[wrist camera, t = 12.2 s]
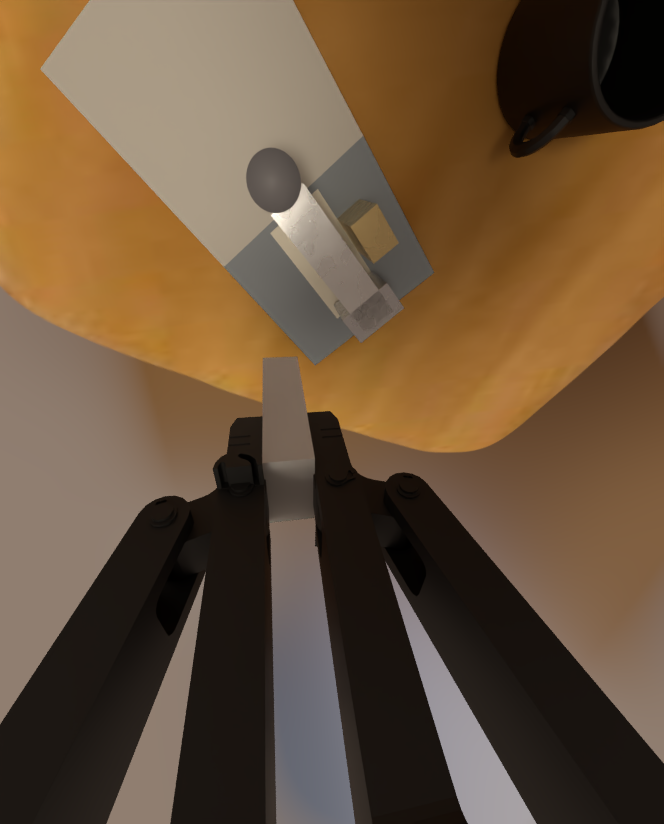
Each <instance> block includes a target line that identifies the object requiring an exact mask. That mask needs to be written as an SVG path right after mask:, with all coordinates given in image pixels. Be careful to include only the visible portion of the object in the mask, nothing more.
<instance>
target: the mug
mask: <svg viewBox="0 0 664 824" xmlns="http://www.w3.org/2000/svg"><path fill="white" fill-rule="evenodd" d="M497 86H498V97H499V102H500V106H501V109H502V112H503V115H504V117H505V119H506V120H507V122H508V124H509V125H510V126H511V127H512V128H513V130H514V131H515V133H514V135H513V137H512V139H511V141H510V144H509V149H510V152H511V155H512V156H513V157H516V158H519V157H524V156H527V155H530V154H533V153H534V152H536V151H538V150H540V149H541V148H543V147H544V146H545V145H547V144H548V143H549V142H550V141H552V140H553V139H557V138H566V137H574V136H583V135H592V134H601V133H609V132H618V131H627V130H636V129H642V128H646V127H649V126H653V125H655V124H657V123H659V122H661V121H663V120H664V0H521V2H520V3H519V5H518V7H517V9H516V11H515V13H514V15H513V17H512V19H511V21H510V24H509V26H508V29H507V32H506V34H505V37H504V41H503V44H502V48H501V52H500V58H499V64H498V76H497ZM524 138H527V139H531V140H529V141H526V142H523V140H524Z"/></svg>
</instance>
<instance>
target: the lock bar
mask: <svg viewBox="0 0 664 824" xmlns="http://www.w3.org/2000/svg"><path fill="white" fill-rule="evenodd" d="M270 214H271V216H272V217H273V219H274V220H275V221H276V222H277V224H278V225H279V226H280V227H281V229H282V230H283V231H284V232H285V234H286V235H287V236H288V237H289V239H290V240H291V241H292V242H293V244H294V245H295V246H296V247H297V249H298V250H299V251H300V252H301V253H302V255H303V256H304V257H305V258H306V260H307V261H308V262H309V263H310V265H311V266H312V267H313V268H314V270H315V271H316V272H317V273H318V275H319V276H320V277H321V278H322V280H323V281H324V282H325V283H326V285H327V286H328V287H329V288H330V290H331V291H332V292H333V293H334V295H335V296H336V297H337V298H338V299H339V301H337V302H336V303H335V304H334V307H335V309H336V310H337V312H338V314H339V316H340V317H341V319H342V321H343V322H344V323H345V324H346V326H347V327H348V328H349V329H350V330H351V332H352V333H353V334H354V335H355V336H356V338H357V339H358V340H359V341H360V342H361V343H362V342H363V341H364V340H365V339H367V338H368V337H369V336H370V335H372V334H373V333H374V332H375V331H376V330H378V329H379V328H380V327H381V326H383V325H384V324H385V323H386V322H388V321H389V320H390V319H391V318H393V317H394V316H395V315H396V314H397V313H399V312H400V311H401V310H402V309H404V307H403V306H402V304H401V303H400V301H399V300H398V298H397V297H396V295H395V294H394V292H393V291H392V289H391V288H390V287H389V285H388V284H387V282H385V281H384V280H383V279H382V278H381V277H380V276H378V275H377V274H376V273H375V272H374V271H372V272H371V273H370V274H367V273H366V271H365V270H364V269H363V267H362V266H361V264H360V263H359V261H358V260H357V259H356V257H355V256H354V254H353V253H352V251H351V250H350V249H349V247H348V246H347V244H346V243H345V242H344V240H343V239H342V237H341V236H340V234H339V233H338V232H337V230H336V229H335V227H334V226H333V224H332V223H331V222H330V220H329V219H328V217H327V216H326V215H325V213H324V212H323V210H322V209H321V207H320V206H319V205H318V203H317V202H316V200H315V199H314V197H313V196H312V195H311V193H310V192H309V190H308V189H307V188H306V186H305V185H304V183H303V182H301V190H300V194H299V197H298V199H297V201H296V203H295V204H294V205H293V206H292V207H291V208H290V209H289V210H287V211H285V212H282V213H271V212H270Z"/></svg>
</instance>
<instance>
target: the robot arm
mask: <svg viewBox="0 0 664 824" xmlns="http://www.w3.org/2000/svg"><path fill="white" fill-rule="evenodd" d="M213 472H214V476H215V481H216V485H217V489H216V490H214V491H213V492H211V493H210V494H209V495H206V496H204V497H202V498H199V499H196V500H193V501H190V502H187V501H186V500H185V499H183V498H181V497H178V496H165V497H162V498H159V499H156V500H154V501H152V502H151V503H149V504H148V505H146V506H145V508H143V510H142V511H141V512H140V513H139V514H138V516H137V517H136V519H135V520H134V522H133V523H132V525H131V526H130V528H129V529H128V531H127V532H126V534H125V535H124V537H123V538H122V540H121V541H120V543H119V545H118V546H117V548H116V549H115V551H114V552H113V554H112V555H111V557H110V558H109V560H108V561H107V563H106V564H105V566H104V567H103V569H102V570H101V572H100V573H99V575H98V577H97V578H96V579H95V581H94V583H93V584H92V586H91V587H90V589H89V590H88V592H87V593H86V595H85V596H84V598H83V599H82V601H81V602H80V604H79V605H78V607H77V608H76V610H75V611H74V613H73V615H72V616H71V618H70V619H69V621H68V622H67V624H66V625H65V627H64V628H63V630H62V631H61V633H60V634H59V636H58V637H57V639H56V640H55V642H54V643H53V645H52V646H51V648H50V650H49V651H48V652H47V654H46V656H45V657H44V659H43V660H42V662H41V663H40V665H39V666H38V668H37V669H36V671H35V672H34V674H33V675H32V677H31V678H30V680H29V682H28V683H27V684H26V686H25V688H24V689H23V691H22V692H21V694H20V695H19V697H18V698H17V700H16V701H15V703H14V704H13V706H12V707H11V709H10V710H9V712H8V713H7V715H6V717H5V718H4V719H3V721H2V723H1V724H0V824H106V823H107V820H108V818H109V815H110V812H111V810H112V808H113V805H114V803H115V800H116V798H117V795H118V793H119V790H120V788H121V785H122V782H123V780H124V777H125V775H126V772H127V770H128V767H129V764H130V762H131V760H132V757H133V755H134V752H135V749H136V747H137V744H138V742H139V739H140V737H141V734H142V732H143V729H144V727H145V724H146V722H147V719H148V716H149V714H150V711H151V709H152V706H153V704H154V701H155V699H156V696H157V694H158V691H159V689H160V686H161V683H162V681H163V678H164V676H165V673H166V671H167V668H168V666H169V663H170V661H171V658H172V656H173V653H174V651H175V648H176V646H177V643H178V640H179V638H180V635H181V633H182V630H183V628H184V625H185V623H186V620H187V618H188V615H189V613H190V610H191V607H192V605H193V602H194V600H195V597H196V595H197V592H198V590H199V587H200V585H201V582H202V580H203V577H204V574H205V572H206V575H205V582H204V589H203V596H202V604H201V610H200V617H199V625H198V632H197V640H196V647H195V653H194V660H193V667H192V675H191V681H190V688H189V696H188V703H187V710H186V717H185V724H184V731H183V738H182V745H181V753H180V759H179V766H178V774H177V781H176V788H175V795H174V802H173V809H172V816H171V823H170V824H276V790H275V789H276V786H275V738H274V692H273V691H274V689H273V638H272V593H271V591H272V590H271V589H272V588H271V539H270V530H269V523H272V522H281V521H290V520H299V519H308V518H314V515H315V521H316V532H315V533H316V534H315V535H316V537H315V546H317V547H318V554H319V562H320V569H321V576H322V584H323V591H324V598H325V606H326V612H327V620H328V627H329V635H330V642H331V649H332V656H333V664H334V671H335V678H336V686H337V693H338V700H339V708H340V714H341V722H342V729H343V736H344V744H345V751H346V759H347V766H348V773H349V780H350V788H351V795H352V802H353V810H354V817H355V824H468V823H467V821H466V819H465V817H464V815H463V812H462V810H461V807H460V805H459V802H458V799H457V796H456V792H455V789H454V786H453V783H452V780H451V776H450V773H449V770H448V766H447V763H446V760H445V756H444V753H443V750H442V747H441V743H440V740H439V737H438V733H437V730H436V727H435V723H434V720H433V717H432V714H431V710H430V707H429V704H428V701H427V697H426V694H425V691H424V687H423V684H422V681H421V678H420V674H419V671H418V668H417V664H416V661H415V658H414V654H413V651H412V648H411V645H410V641H409V638H408V635H407V632H406V628H405V625H404V622H403V618H402V615H401V612H400V608H399V605H398V602H397V598H396V595H395V592H394V589H393V585H392V582H391V579H390V575H389V572H388V569H387V566H386V563H387V565H388V566H389V568H390V570H391V572H392V573H393V575H394V577H395V579H396V580H397V582H398V584H399V585H400V587H401V589H402V591H403V592H404V594H405V596H406V598H407V599H408V601H409V603H410V604H411V606H412V608H413V610H414V612H415V613H416V615H417V617H418V618H419V620H420V622H421V624H422V625H423V627H424V629H425V631H426V632H427V634H428V636H429V638H430V639H431V641H432V643H433V644H434V646H435V648H436V649H437V651H438V653H439V655H440V656H441V658H442V660H443V662H444V663H445V665H446V667H447V669H448V670H449V672H450V674H451V676H452V677H453V679H454V681H455V683H456V684H457V686H458V688H459V689H460V691H461V693H462V695H463V697H464V698H465V700H466V702H467V703H468V705H469V707H470V709H471V710H472V712H473V714H474V715H475V717H476V719H477V721H478V722H479V724H480V726H481V728H482V729H483V731H484V733H485V735H486V736H487V738H488V740H489V742H490V743H491V745H492V747H493V748H494V750H495V752H496V754H497V755H498V757H499V759H500V761H501V762H502V764H503V766H504V768H505V769H506V771H507V773H508V775H509V776H510V778H511V780H512V781H513V783H514V785H515V787H516V788H517V790H518V792H519V794H520V795H521V797H522V799H523V801H524V802H525V804H526V806H527V808H528V809H529V811H530V813H531V814H532V816H533V818H534V820H535V821H536V823H537V824H664V763H663V762H662V761H661V760H660V759H659V757H658V756H657V755H656V754H655V753H654V751H653V750H652V749H651V748H650V747H649V746H648V744H647V743H646V742H645V741H644V740H643V739H642V737H641V736H640V735H639V734H638V733H637V731H636V730H635V729H634V728H633V727H632V725H631V724H630V723H629V722H628V721H627V720H626V718H625V717H624V716H623V715H622V714H621V713H620V711H619V710H618V709H617V708H616V707H615V705H614V704H613V703H612V702H611V701H610V699H609V698H608V697H607V696H606V695H605V694H604V693H603V691H602V690H601V689H600V688H599V686H598V685H597V684H596V683H595V682H594V680H593V679H592V678H591V677H590V676H589V675H588V673H587V672H586V671H585V670H584V669H583V667H582V666H581V665H580V664H579V663H578V662H577V661H576V659H575V658H574V657H573V656H572V654H571V653H570V652H569V651H568V650H567V649H566V647H565V646H564V645H563V644H562V643H561V642H560V640H559V639H558V638H557V637H556V636H555V634H554V633H553V632H552V631H551V630H550V628H549V627H548V626H547V625H546V624H545V623H544V621H543V620H542V619H541V618H540V617H539V615H538V614H537V613H536V612H535V611H534V610H533V608H532V607H531V606H530V605H529V604H528V602H527V601H526V600H525V599H524V598H523V596H522V595H521V594H520V593H519V592H518V591H517V589H516V588H515V587H514V586H513V585H512V583H510V581H509V580H508V579H507V578H506V576H505V575H504V574H503V573H502V572H501V571H500V569H499V568H498V567H497V566H496V565H495V563H494V562H493V561H492V560H491V559H490V557H489V556H488V555H487V554H486V553H485V552H484V550H483V549H482V548H481V547H480V546H479V544H478V543H477V542H476V541H475V540H474V539H473V537H472V536H471V535H470V534H469V533H468V531H467V530H466V529H465V528H464V527H463V526H462V524H461V523H460V522H459V521H458V520H457V518H456V517H455V516H454V515H453V514H452V512H451V511H450V510H449V509H448V508H447V507H446V505H445V504H444V503H443V502H442V501H441V499H440V498H439V497H438V496H437V495H436V494H435V493H434V491H433V490H432V489H431V488H430V487H429V485H428V484H427V483H426V482H425V481H424V480H423V479H421V478H420V477H418V476H416V475H413V474H410V473H396V474H394V475H392V476H390V477H389V479H388V480H387V481H386V482H384V481H378V480H372V479H368V478H366V477H363V476H361V475H360V474H358V473H357V471H356V470H355V469H354V468H353V467H352V465H351V463H350V459H349V456H348V453H347V449H346V446H345V442H344V439H343V437H342V432H341V430H340V425H339V422H338V419H337V418H336V417H335V416H334V415H333V414H332V413H331V412H330V411H325V412H310V413H307V410H306V404H305V399H304V393H303V387H302V381H301V376H300V370H299V364H298V359H297V357H276V358H263V416H261V417H248V418H247V417H246V418H237V419H236V420H235V422H234V423H233V424H232V426H231V427H230V435H229V442H228V450H227V454H226V455H224V456H222V457H221V458H220V459H219V460H217V462H216V463H215V465H214V467H213ZM385 561H386V562H385Z"/></svg>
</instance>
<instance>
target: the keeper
mask: <svg viewBox="0 0 664 824" xmlns="http://www.w3.org/2000/svg"><path fill="white" fill-rule="evenodd" d="M337 219H338V221H339V223H340V224H341V226H342V227H343V229H344V230H345V232H346V233H347V235H348V237H349V238H350V240H351V241H352V243H353V244H354V246H355V247H356V249H357V251H358V252H359V253H361V254H362V255H363V256H364V257H366V258H367V259H368V260H369V261H371V262H372V263H373V264H374V263H375V262H377V261H378V260H379V259H380V258H381V257H383V256H384V255H385V254H386V253H388V252H389V251H390V250H391V249H392V248H394V247H395V246H396V245H397V244H398V243H399V242H398V240H397V239H396V237H395V235H394V233H393V231H392V230H391V228H390V226H389V224H388V222H387V221H386V219H385V217H384V215H383V213H382V212H381V210H380V208H379V206H378V204H376V203H372V202H368V201H365V200H361V199H359V200H357V201H356V202H355V203H354V204H353V205H352V206H351V207H350V208H348V209H347V210H346V211H345V212H344V213H343V214H342V215H341V216H340V217H338V218H337Z"/></svg>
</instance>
